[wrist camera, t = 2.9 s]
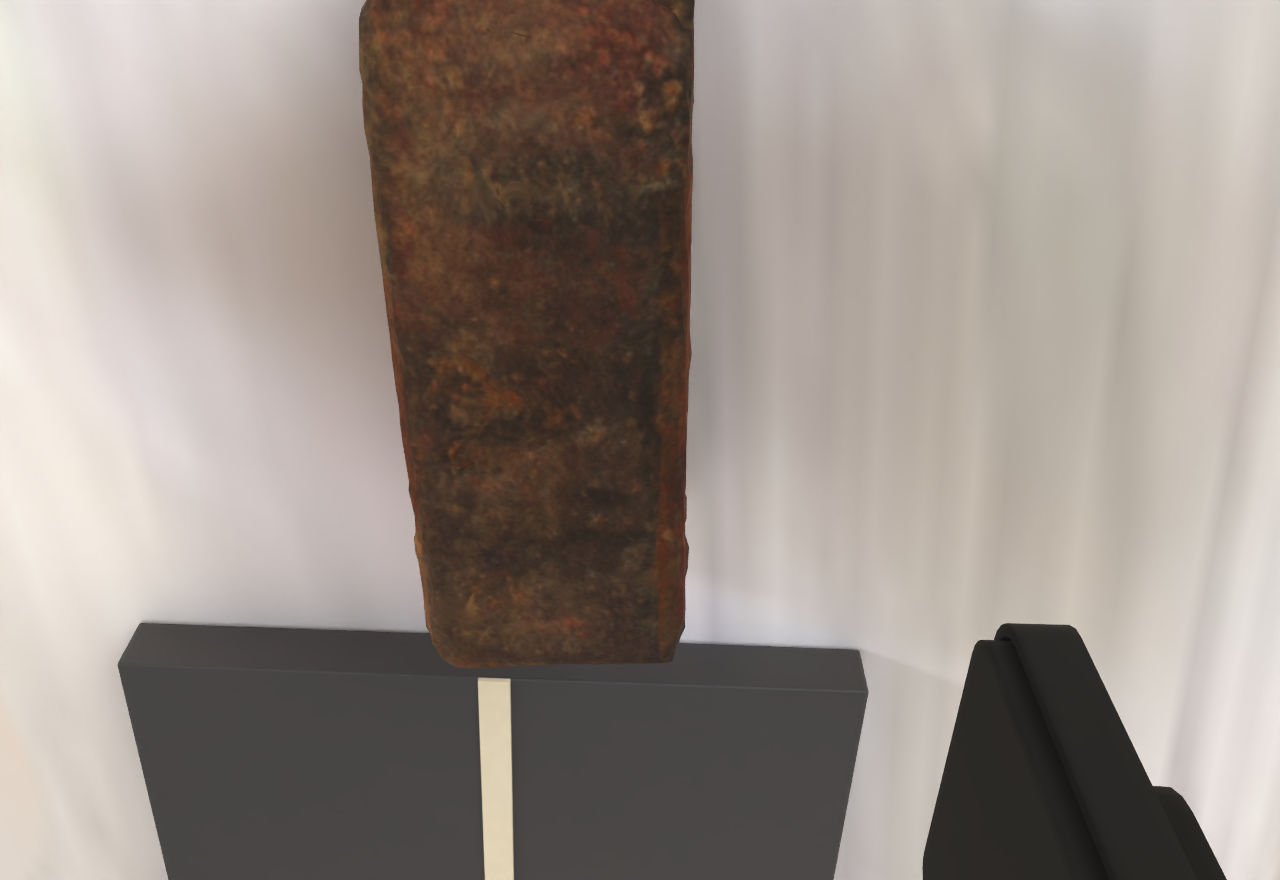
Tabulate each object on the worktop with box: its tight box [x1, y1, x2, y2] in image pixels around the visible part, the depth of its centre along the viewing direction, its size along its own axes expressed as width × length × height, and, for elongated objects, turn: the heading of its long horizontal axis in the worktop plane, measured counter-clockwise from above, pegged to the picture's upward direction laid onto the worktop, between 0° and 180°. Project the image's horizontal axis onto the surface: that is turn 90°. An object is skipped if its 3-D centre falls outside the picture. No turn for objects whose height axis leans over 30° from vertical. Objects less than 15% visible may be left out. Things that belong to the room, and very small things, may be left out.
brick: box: [359, 0, 694, 668], centre depth 17 cm, size 11×4×5 cm, turn 0°
